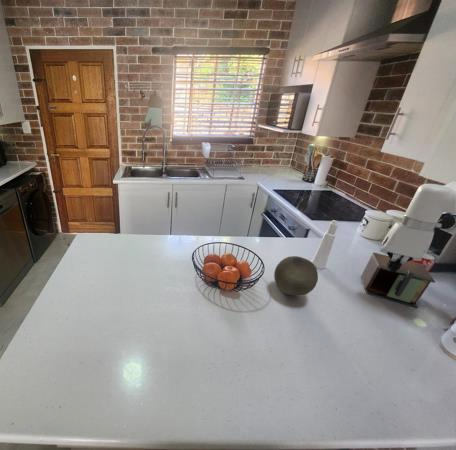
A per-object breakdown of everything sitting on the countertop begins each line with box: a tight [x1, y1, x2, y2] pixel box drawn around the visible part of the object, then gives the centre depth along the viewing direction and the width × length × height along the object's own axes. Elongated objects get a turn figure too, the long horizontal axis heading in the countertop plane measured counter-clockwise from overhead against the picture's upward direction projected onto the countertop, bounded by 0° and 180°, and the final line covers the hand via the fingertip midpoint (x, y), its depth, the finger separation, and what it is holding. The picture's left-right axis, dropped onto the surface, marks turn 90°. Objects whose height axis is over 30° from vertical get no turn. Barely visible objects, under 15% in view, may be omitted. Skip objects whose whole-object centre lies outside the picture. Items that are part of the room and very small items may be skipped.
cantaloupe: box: [273, 255, 319, 297], centre depth 90 cm, size 14×14×15 cm
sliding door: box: [387, 271, 424, 303], centre depth 87 cm, size 6×4×13 cm, turn 61°
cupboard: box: [360, 252, 436, 309], centre depth 94 cm, size 15×12×12 cm
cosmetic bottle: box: [310, 219, 340, 270], centre depth 106 cm, size 6×6×22 cm
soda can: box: [411, 252, 436, 273], centre depth 101 cm, size 7×7×12 cm
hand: (391, 269), depth 87 cm, fingers closed
